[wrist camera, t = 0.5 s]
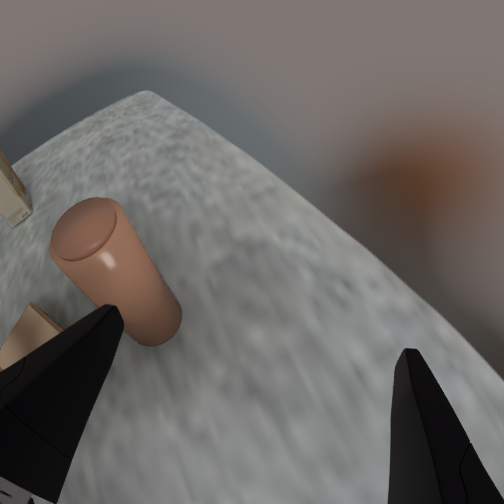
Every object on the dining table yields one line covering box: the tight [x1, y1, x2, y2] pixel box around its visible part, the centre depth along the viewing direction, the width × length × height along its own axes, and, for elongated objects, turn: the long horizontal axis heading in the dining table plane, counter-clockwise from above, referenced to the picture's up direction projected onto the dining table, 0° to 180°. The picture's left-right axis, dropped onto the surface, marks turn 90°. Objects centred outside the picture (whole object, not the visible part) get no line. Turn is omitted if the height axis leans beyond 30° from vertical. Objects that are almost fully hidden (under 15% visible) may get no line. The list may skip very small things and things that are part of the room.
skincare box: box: [0, 150, 32, 228], centre depth 35 cm, size 6×4×12 cm
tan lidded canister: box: [50, 197, 182, 346], centre depth 23 cm, size 6×6×13 cm
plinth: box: [0, 302, 64, 371], centre depth 25 cm, size 8×8×3 cm
